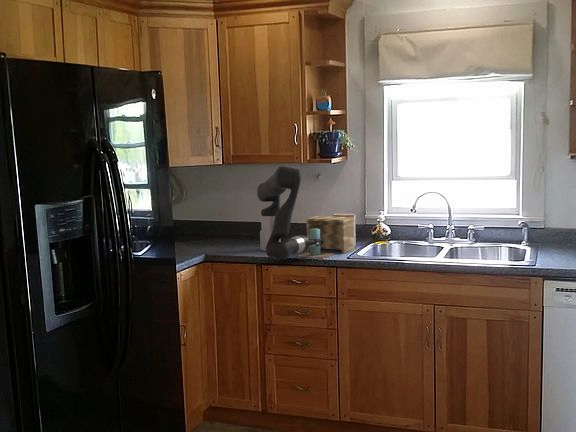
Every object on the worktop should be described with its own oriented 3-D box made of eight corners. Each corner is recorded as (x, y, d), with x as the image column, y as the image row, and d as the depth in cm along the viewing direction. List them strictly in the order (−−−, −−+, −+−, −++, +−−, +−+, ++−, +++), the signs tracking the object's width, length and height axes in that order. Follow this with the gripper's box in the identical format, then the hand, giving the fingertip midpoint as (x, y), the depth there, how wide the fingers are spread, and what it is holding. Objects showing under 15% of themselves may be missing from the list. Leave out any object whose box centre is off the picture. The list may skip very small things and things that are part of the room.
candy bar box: (332, 247, 354) (331, 214, 353) (334, 245, 359) (333, 213, 357) (354, 247, 351) (353, 214, 350) (356, 245, 356) (355, 213, 354)
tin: (308, 255, 329) (307, 229, 328) (313, 253, 333) (312, 228, 332) (317, 255, 326) (316, 230, 325) (322, 254, 330) (321, 228, 329)
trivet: (295, 256, 328) (295, 255, 328) (308, 252, 339) (308, 251, 338) (322, 258, 321) (322, 257, 321) (334, 254, 331) (334, 253, 331)
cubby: (307, 251, 343) (306, 218, 342) (318, 247, 353) (317, 215, 351) (344, 253, 333) (343, 220, 331) (354, 250, 343) (353, 217, 341)
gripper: (311, 237, 311) (328, 232, 325) (283, 235, 318) (301, 231, 332) (311, 253, 312) (328, 248, 326) (284, 251, 319) (301, 246, 333)
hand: (314, 239), depth 329 cm, fingers open, 8 cm apart
